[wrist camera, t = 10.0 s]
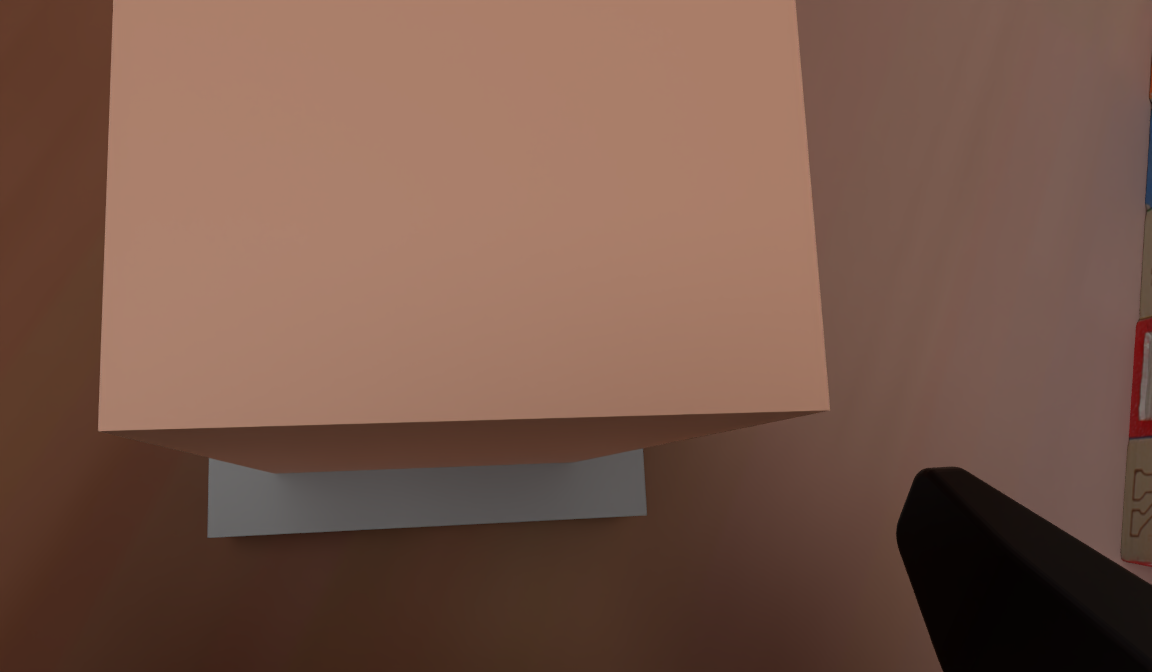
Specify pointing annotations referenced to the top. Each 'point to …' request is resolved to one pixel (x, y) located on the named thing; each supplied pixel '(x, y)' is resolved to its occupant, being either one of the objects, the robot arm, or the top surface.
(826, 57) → the top surface
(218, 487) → the base brick
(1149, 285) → the stack of blocks
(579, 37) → the tall brick
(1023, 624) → the robot arm
